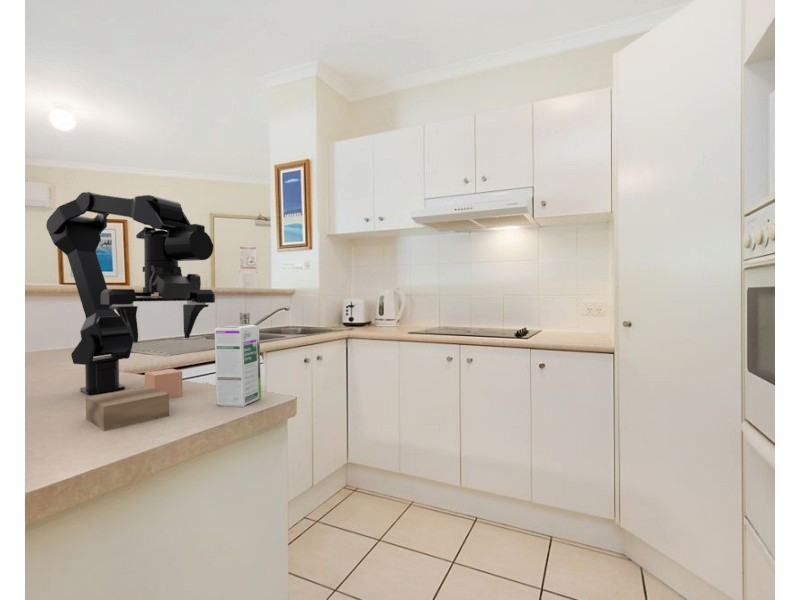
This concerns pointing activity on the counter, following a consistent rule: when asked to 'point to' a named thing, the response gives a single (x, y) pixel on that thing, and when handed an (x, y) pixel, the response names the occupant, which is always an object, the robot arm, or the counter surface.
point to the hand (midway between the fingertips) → (162, 340)
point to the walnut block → (126, 407)
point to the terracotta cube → (165, 381)
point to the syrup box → (237, 365)
